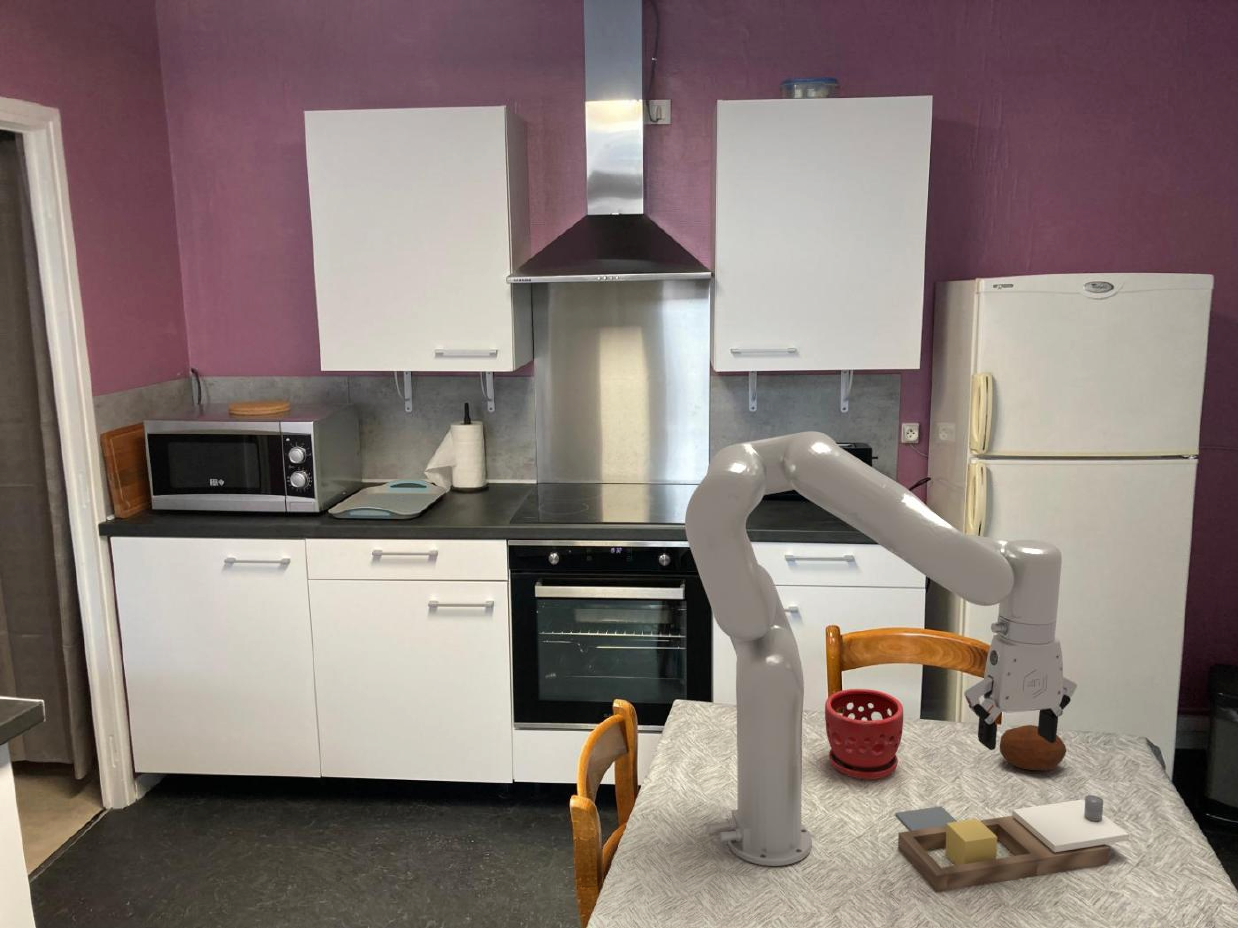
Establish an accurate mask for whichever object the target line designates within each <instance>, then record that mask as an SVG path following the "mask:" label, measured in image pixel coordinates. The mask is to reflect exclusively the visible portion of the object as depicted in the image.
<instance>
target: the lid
mask: <svg viewBox="0 0 1238 928" xmlns="http://www.w3.org/2000/svg"><path fill="white" fill-rule="evenodd" d="M1103 811H1104V800H1103V798H1102V797H1100V796H1098V795H1089V794H1088V795H1086V796H1085V798H1084V799H1077V800H1069V801H1064V802H1056V803H1050V804H1043V805H1036V806H1031V807H1030V806H1029V807H1023V808H1016V809H1012V815H1011V816H1013V817H1014V818H1015V819H1017V820H1018V821H1019V822H1020V823H1021V824H1022V825H1024V826H1025V827H1026V828H1027V829H1028V830H1029V831H1030V832H1032V833H1033V834H1034V835H1035V836H1036V837H1037V838H1039V839H1040V840H1041V841H1042V842H1043V843H1044V844H1046V845H1047V846H1048V847H1049V848H1050V849H1051V850H1053V851H1054V852H1060V851H1066V850H1072V849H1079V848H1085V847H1091V846H1097V845H1104V844H1105V845H1109V844H1115V843H1122V842H1128V841H1129V839H1130V837H1129V836H1130V834H1129V833H1128V832H1127V831H1126V830H1124V829H1122V827H1120V826H1119V825H1117V824H1116V823H1115V822H1114V821H1112V820H1111V819H1109V818H1108V817H1107V816H1105V815H1104V814H1103V813H1104V812H1103Z"/></svg>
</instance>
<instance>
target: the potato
mask: <svg viewBox="0 0 1238 928" xmlns="http://www.w3.org/2000/svg"><path fill="white" fill-rule="evenodd" d="M999 752H1000V754H1001V756H1002V758H1003V759H1004V760H1005V761H1006V762H1008V764H1010V765H1012V766H1014V767H1016V768H1019V769H1022V770H1023V769H1024V770H1032V771H1051V770H1053V769H1055V768H1056V767H1057V766H1058V765H1059V764H1060V763H1061V762H1062V761H1063V759H1065V757H1066V753H1067V747H1066V744H1065V743H1064V741H1063V740H1062V739H1061V737H1060V736H1059V735H1057V734H1056V742H1055V743H1050V742H1048V741H1047V740H1045V739H1044V738H1043V737H1041V736H1040V735H1038V725H1033V724H1027V725H1021V726H1019V727H1014V728H1009V729H1006V730H1005V731H1004V733H1003V734H1002V735H1001V737H1000V742H999Z"/></svg>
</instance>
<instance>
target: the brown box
mask: <svg viewBox="0 0 1238 928" xmlns="http://www.w3.org/2000/svg"><path fill="white" fill-rule="evenodd" d="M979 820H980V819H979ZM980 821H981V822H982V823H983V824H984V825H985V826H986V827H987V828H988V829H989V830H990V831H991V832H993V833H994V834H995V835H996V836H997V841H999V842H1000V843H1001V844H1002V845H1003V846H1005V848H1007V849H1008V850H1009V851H1010V852H1011V853H1012V854H1013V856H1008V857H1007V856H1006V857H1000V858H996V859H993V860H987V861H980V862H974V863H968V864H961V865H956V864H954V865H949V866H945V867H943V866H941V865H939V863H938V862H937V861H936V860H935V859H934V858H933V857H932V856H931V855H930V854H929V852H928V851H929V850H937V849H942V848H946V826H940V827H934V828H927V829H920V830H914V831H910V830H909V831H908V830H907V831H903V832H902V831H901V832H898V835H897V836H898V837H897V838H898V839H897V848H898V850H899V851H900V852H901V853H902V854H903V856H905V858H906V859H907V860H908V861H909V862H910V863H911V864H912V866H913V867H914V868H915V869H916V870H917V871H918V872H919V873H920V875H921V876H922V877H923V878H924V879H925V880H926V882H928V884H929V885H930V886H931V887H932V888H933V890H935V892H936V893H938V892H944V891H951V890H958V889H964V888H969V887H973V886H974V887H975V886H981V885H987V884H993V883H1000V882H1005V881H1011V880H1017V879H1024V878H1030V877H1037V876H1041V875H1048V874H1053V873H1058V872H1066V871H1072V870H1078V869H1084V868H1091V867H1096V866H1102V865H1108V864H1109V860H1110V858H1109V857H1110V856H1109V855H1110V847H1109V846H1108V845H1107V844H1104V845H1097V846H1091V847H1085V848H1079V849H1072V850H1066V851H1060V852H1054V851H1053V850H1051V849H1050V848H1049V847H1048V846H1047V845H1046V844H1044V843H1043V842H1042V841H1041V840H1040V839H1039V838H1037V837H1036V836H1035V835H1034V834H1033V833H1032V832H1030V831H1029V830H1028V829H1027V828H1026V827H1025V826H1024V825H1022V824H1021V823H1020V822H1019V821H1018V820H1017V819H1015V818H1014V817H1013V816H1012V815H1009V816H1002V817H994V818H988V819H982V820H980Z"/></svg>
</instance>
